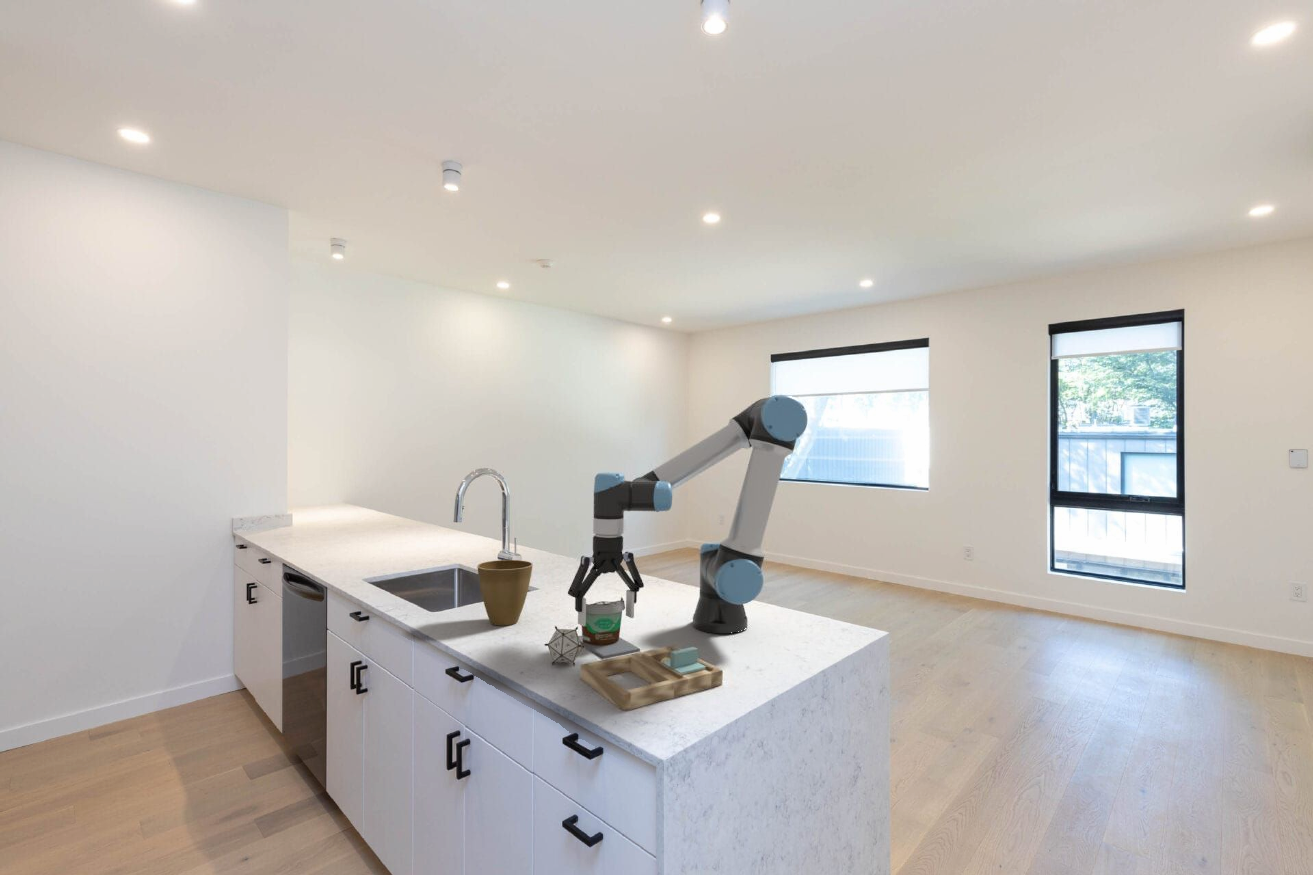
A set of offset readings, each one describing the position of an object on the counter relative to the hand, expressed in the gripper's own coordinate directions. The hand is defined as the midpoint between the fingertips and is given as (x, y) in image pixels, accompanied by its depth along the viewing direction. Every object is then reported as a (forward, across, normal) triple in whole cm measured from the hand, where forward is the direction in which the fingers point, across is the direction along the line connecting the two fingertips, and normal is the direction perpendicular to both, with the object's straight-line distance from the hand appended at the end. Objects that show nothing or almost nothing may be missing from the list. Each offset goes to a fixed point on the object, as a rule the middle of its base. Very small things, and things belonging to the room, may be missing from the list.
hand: (606, 620), depth 150 cm
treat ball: (+6, -3, +22) cm, 23 cm away
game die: (+6, +14, +6) cm, 16 cm away
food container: (+6, 0, 0) cm, 6 cm away
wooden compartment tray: (+6, +3, +25) cm, 26 cm away
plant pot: (+6, +15, -31) cm, 35 cm away
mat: (+6, 0, 0) cm, 6 cm away
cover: (+3, -3, +28) cm, 29 cm away
